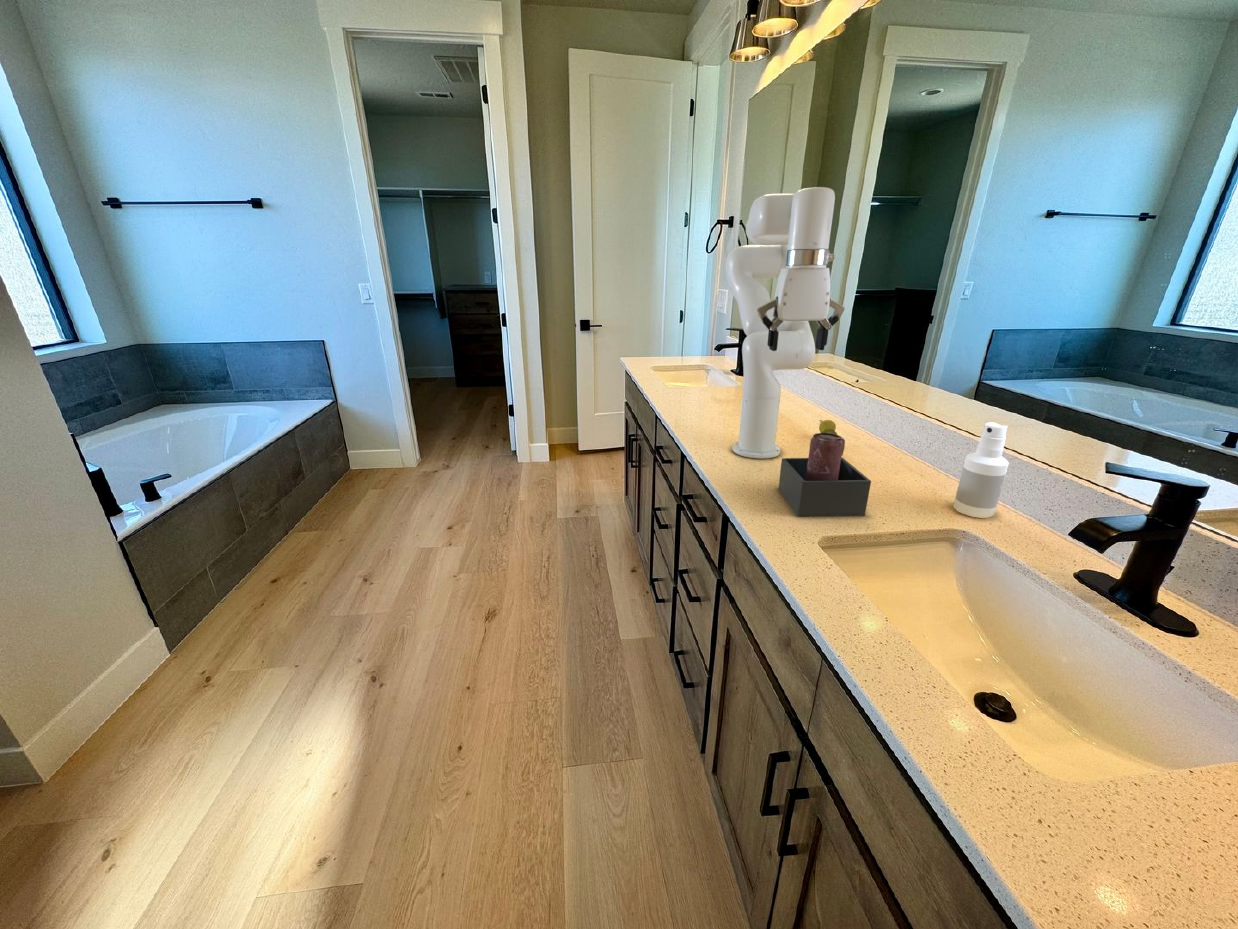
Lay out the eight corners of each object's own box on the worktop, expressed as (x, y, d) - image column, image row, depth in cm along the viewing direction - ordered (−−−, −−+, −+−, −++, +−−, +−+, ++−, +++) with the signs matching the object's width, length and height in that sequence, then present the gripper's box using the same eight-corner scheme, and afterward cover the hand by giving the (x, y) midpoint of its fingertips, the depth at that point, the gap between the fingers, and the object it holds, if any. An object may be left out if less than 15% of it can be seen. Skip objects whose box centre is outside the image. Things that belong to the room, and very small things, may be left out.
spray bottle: (945, 506, 100) (966, 422, 94) (968, 501, 103) (990, 418, 96) (978, 521, 94) (1003, 431, 88) (1002, 515, 97) (1028, 427, 90)
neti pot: (825, 436, 145) (828, 414, 143) (846, 453, 131) (850, 429, 129) (810, 436, 145) (813, 414, 143) (830, 453, 131) (833, 429, 129)
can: (838, 507, 100) (848, 441, 95) (805, 504, 101) (814, 440, 96) (832, 494, 105) (842, 432, 100) (801, 492, 107) (809, 431, 102)
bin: (778, 489, 110) (781, 458, 107) (837, 488, 110) (842, 457, 107) (798, 516, 97) (802, 481, 95) (864, 515, 97) (871, 481, 95)
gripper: (842, 260, 99) (830, 346, 105) (756, 261, 99) (749, 347, 105) (859, 259, 92) (845, 351, 98) (767, 260, 92) (759, 353, 98)
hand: (796, 349), depth 102 cm, fingers open, 9 cm apart
